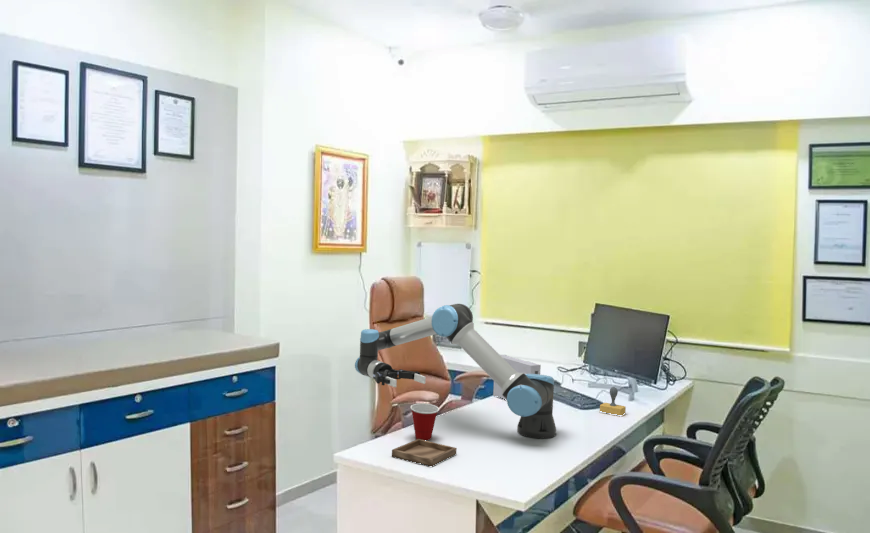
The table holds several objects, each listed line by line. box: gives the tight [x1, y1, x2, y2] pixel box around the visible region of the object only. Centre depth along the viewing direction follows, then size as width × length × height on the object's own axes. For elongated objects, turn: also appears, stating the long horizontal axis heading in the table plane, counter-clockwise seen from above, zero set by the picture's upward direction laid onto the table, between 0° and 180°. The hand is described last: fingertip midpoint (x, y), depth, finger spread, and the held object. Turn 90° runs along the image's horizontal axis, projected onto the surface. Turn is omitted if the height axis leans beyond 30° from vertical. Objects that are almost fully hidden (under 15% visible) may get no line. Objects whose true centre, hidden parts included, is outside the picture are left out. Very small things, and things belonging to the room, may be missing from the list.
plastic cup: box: [410, 402, 440, 441], centre depth 246 cm, size 11×11×12 cm
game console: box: [492, 354, 541, 401], centre depth 308 cm, size 6×27×20 cm, turn 31°
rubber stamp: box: [599, 386, 627, 416], centre depth 294 cm, size 10×6×12 cm, turn 54°
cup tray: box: [391, 439, 458, 467], centre depth 227 cm, size 16×16×2 cm
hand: (410, 381), depth 253 cm, fingers open, 13 cm apart
